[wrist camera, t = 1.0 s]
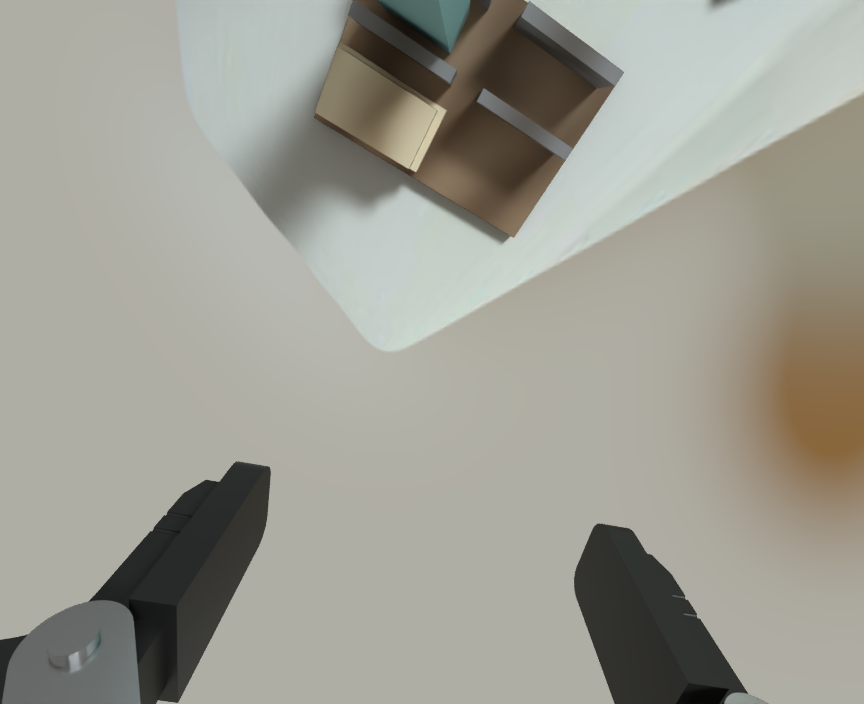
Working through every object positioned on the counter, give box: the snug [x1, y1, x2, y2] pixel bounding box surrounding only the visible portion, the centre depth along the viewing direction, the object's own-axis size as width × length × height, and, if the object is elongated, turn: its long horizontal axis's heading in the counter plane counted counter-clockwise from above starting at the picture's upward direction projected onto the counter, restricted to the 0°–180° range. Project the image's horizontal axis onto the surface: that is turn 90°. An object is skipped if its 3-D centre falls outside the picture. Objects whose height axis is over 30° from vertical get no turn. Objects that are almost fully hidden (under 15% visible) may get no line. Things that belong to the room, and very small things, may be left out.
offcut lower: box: [338, 42, 447, 172], centre depth 29 cm, size 8×4×2 cm, turn 61°
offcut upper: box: [315, 46, 438, 169], centre depth 28 cm, size 7×4×2 cm, turn 61°
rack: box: [314, 0, 624, 238], centre depth 28 cm, size 18×13×5 cm
